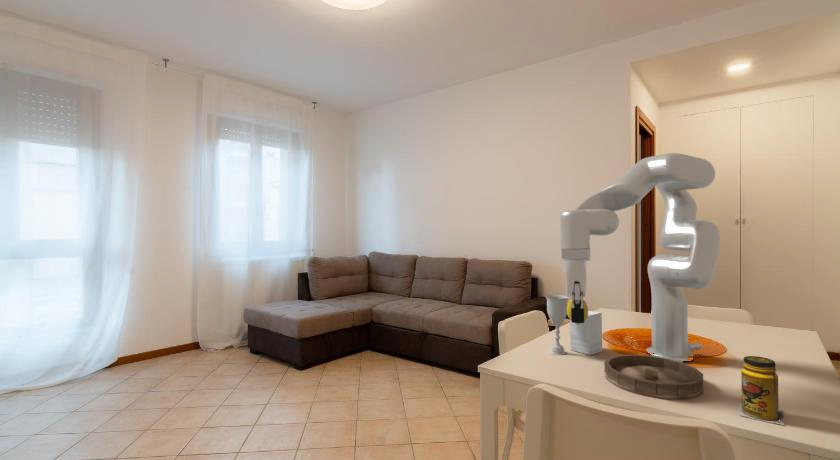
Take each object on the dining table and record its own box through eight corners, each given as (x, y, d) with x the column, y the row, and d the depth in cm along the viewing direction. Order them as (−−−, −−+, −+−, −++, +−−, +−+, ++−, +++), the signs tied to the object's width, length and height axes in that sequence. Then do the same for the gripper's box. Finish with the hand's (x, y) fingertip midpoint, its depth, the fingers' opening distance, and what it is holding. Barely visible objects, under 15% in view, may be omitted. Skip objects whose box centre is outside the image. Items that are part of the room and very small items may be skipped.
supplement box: (603, 351, 130) (602, 312, 130) (589, 355, 126) (589, 315, 126) (582, 346, 136) (582, 308, 136) (569, 350, 132) (568, 311, 132)
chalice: (569, 350, 131) (568, 295, 131) (569, 356, 125) (569, 299, 125) (545, 348, 134) (545, 294, 134) (545, 354, 127) (544, 298, 127)
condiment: (738, 415, 86) (738, 359, 85) (739, 402, 92) (739, 350, 92) (784, 426, 81) (784, 367, 81) (782, 411, 87) (782, 356, 87)
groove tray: (657, 364, 117) (657, 352, 117) (726, 395, 95) (726, 381, 95) (588, 369, 114) (588, 357, 114) (643, 402, 92) (643, 387, 92)
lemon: (590, 327, 108) (589, 298, 108) (568, 327, 109) (567, 298, 109) (586, 322, 113) (585, 294, 113) (565, 322, 114) (564, 294, 114)
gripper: (561, 252, 120) (563, 312, 120) (560, 257, 104) (562, 327, 104) (588, 252, 118) (590, 313, 118) (592, 257, 101) (594, 328, 102)
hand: (577, 319), depth 111 cm, fingers closed on lemon, 5 cm apart
